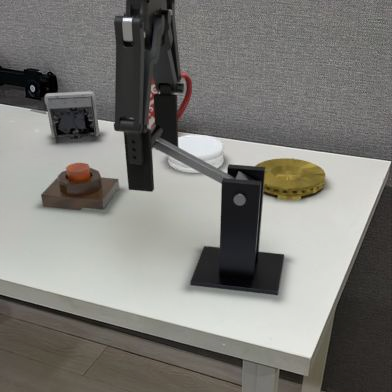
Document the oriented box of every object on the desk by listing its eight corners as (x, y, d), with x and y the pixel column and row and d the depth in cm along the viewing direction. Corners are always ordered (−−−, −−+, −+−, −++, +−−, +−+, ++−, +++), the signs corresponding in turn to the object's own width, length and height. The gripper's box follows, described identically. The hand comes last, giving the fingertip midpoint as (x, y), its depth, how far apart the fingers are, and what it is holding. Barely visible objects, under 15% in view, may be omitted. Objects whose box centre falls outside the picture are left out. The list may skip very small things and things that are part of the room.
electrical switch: (100, 134, 112) (94, 87, 106) (101, 147, 109) (95, 98, 102) (52, 137, 111) (43, 90, 105) (52, 150, 108) (43, 101, 101)
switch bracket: (190, 289, 71) (189, 186, 62) (204, 253, 78) (204, 155, 69) (277, 299, 69) (288, 195, 60) (283, 261, 76) (294, 162, 67)
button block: (43, 207, 88) (38, 183, 86) (62, 186, 94) (58, 163, 92) (103, 213, 87) (100, 189, 84) (119, 191, 93) (117, 168, 90)
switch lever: (135, 154, 63) (142, 135, 61) (148, 137, 67) (155, 118, 65) (245, 213, 65) (255, 196, 63) (251, 192, 69) (261, 176, 67)
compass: (237, 184, 95) (237, 171, 93) (283, 164, 101) (284, 152, 99) (291, 208, 88) (293, 195, 86) (338, 185, 94) (340, 173, 93)
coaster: (191, 179, 96) (191, 159, 94) (157, 161, 102) (156, 142, 100) (234, 164, 101) (235, 145, 99) (199, 148, 107) (199, 129, 104)
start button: (64, 181, 87) (62, 170, 86) (72, 172, 90) (71, 161, 89) (86, 183, 86) (84, 172, 85) (94, 174, 89) (92, 163, 88)
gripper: (148, -46, 43) (161, 217, 57) (206, -71, 60) (205, 135, 74) (55, -48, 44) (90, 210, 58) (139, -72, 61) (150, 131, 76)
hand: (155, 168), depth 66 cm, fingers open, 11 cm apart
